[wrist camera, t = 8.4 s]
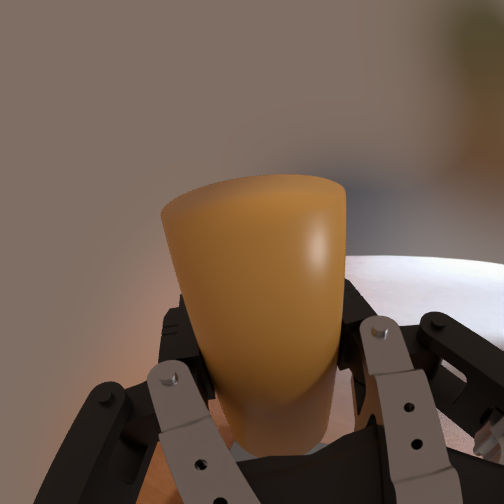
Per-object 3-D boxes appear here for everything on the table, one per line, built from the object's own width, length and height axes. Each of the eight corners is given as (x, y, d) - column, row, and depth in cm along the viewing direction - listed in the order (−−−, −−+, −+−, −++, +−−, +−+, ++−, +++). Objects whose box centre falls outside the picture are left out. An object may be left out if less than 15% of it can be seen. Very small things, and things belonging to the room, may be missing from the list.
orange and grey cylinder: (263, 411, 16) (221, 175, 9) (331, 428, 14) (355, 175, 7) (230, 467, 12) (122, 225, 6) (306, 492, 10) (323, 240, 4)
